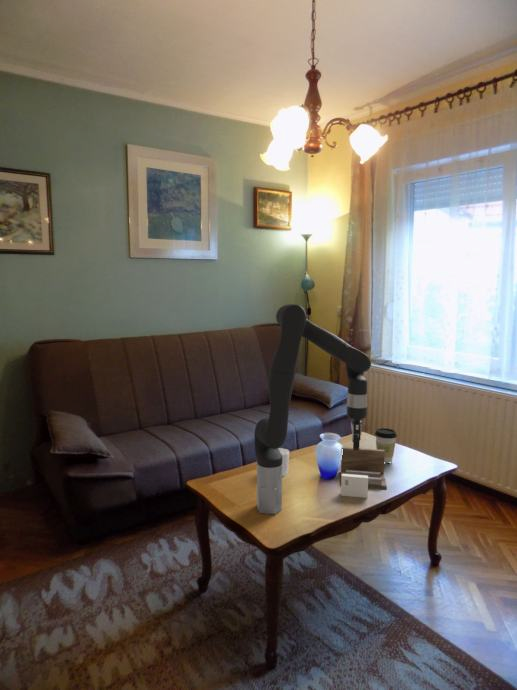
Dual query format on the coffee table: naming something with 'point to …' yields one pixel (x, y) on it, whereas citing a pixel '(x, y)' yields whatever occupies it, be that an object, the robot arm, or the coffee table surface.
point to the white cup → (284, 460)
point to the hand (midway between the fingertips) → (355, 446)
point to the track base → (365, 465)
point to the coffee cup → (386, 442)
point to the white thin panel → (354, 485)
